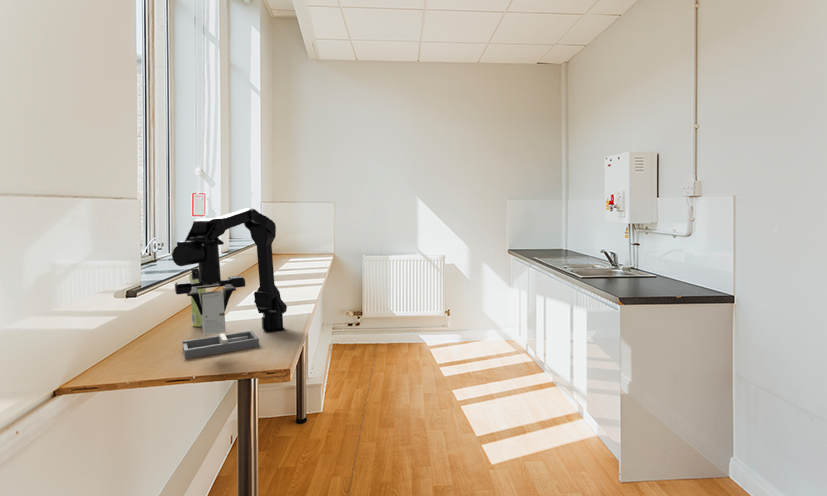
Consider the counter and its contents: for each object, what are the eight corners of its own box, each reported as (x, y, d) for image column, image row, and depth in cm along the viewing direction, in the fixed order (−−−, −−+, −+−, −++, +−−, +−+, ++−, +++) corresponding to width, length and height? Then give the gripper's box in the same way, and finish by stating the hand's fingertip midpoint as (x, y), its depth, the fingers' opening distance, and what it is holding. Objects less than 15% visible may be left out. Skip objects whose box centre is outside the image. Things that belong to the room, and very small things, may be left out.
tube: (208, 322, 173) (205, 272, 172) (209, 325, 169) (205, 274, 167) (192, 324, 171) (189, 273, 169) (192, 327, 166) (188, 275, 165)
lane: (252, 337, 152) (252, 330, 152) (259, 346, 143) (258, 338, 142) (183, 348, 142) (182, 341, 141) (185, 358, 132) (184, 350, 132)
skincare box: (204, 335, 132) (201, 295, 130) (202, 332, 135) (198, 292, 134) (226, 331, 135) (223, 292, 134) (224, 328, 139) (220, 290, 138)
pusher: (245, 338, 150) (244, 330, 149) (250, 345, 142) (249, 336, 142) (219, 343, 146) (218, 333, 145) (223, 349, 138) (222, 340, 138)
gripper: (236, 256, 145) (240, 303, 146) (171, 261, 135) (175, 312, 137) (244, 259, 135) (247, 310, 137) (174, 265, 126) (178, 320, 127)
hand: (212, 312), depth 135 cm, fingers closed on skincare box, 6 cm apart
